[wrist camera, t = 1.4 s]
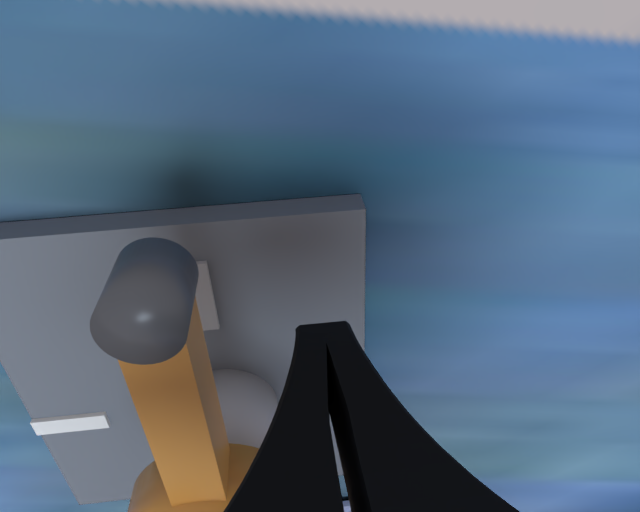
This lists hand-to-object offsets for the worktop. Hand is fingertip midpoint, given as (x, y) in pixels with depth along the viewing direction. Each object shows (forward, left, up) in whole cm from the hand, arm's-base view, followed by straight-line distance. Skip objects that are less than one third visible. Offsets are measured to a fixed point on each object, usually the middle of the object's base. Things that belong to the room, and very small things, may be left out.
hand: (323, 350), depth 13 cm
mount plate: (-6, +5, -6) cm, 10 cm away
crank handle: (-4, +4, -1) cm, 5 cm away
